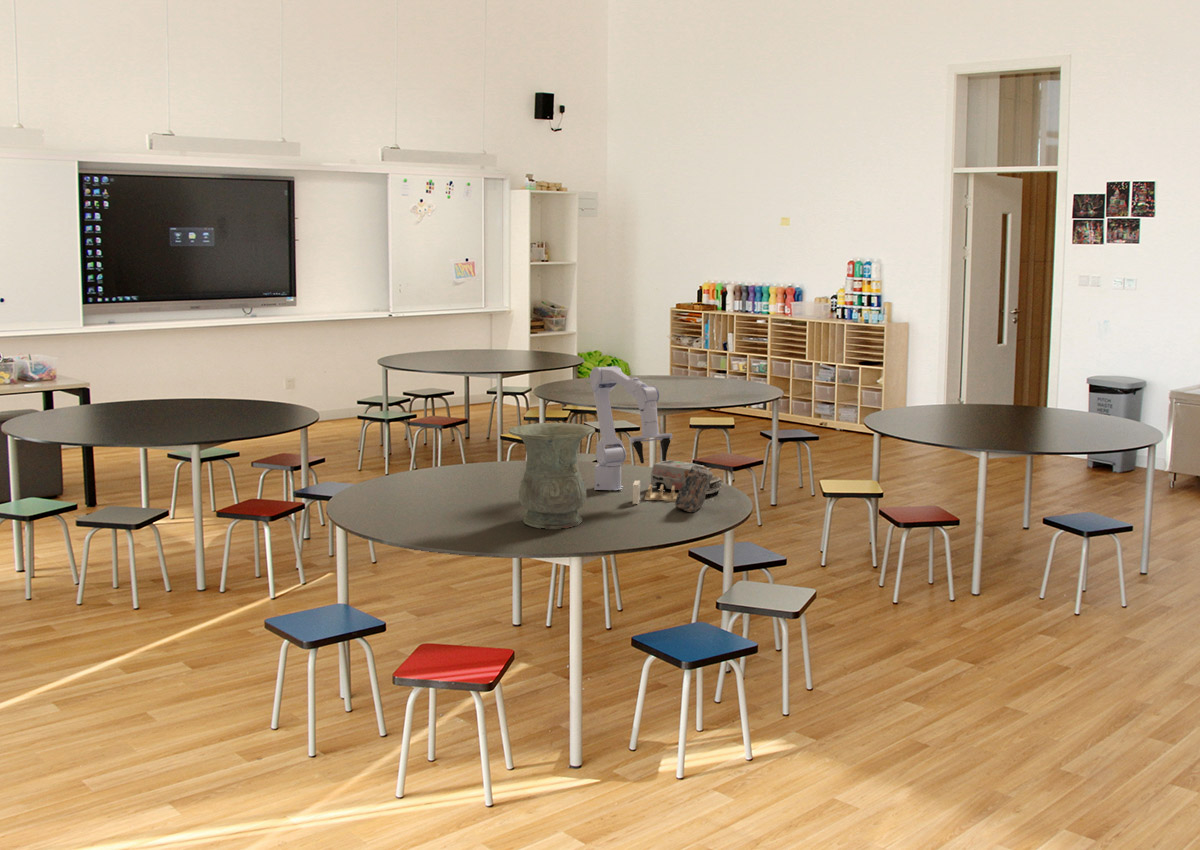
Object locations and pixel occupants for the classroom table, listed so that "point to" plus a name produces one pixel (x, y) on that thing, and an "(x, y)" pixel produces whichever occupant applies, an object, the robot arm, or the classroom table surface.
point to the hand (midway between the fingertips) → (653, 462)
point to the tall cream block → (636, 492)
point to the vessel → (552, 474)
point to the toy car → (678, 475)
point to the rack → (661, 494)
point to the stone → (694, 489)
